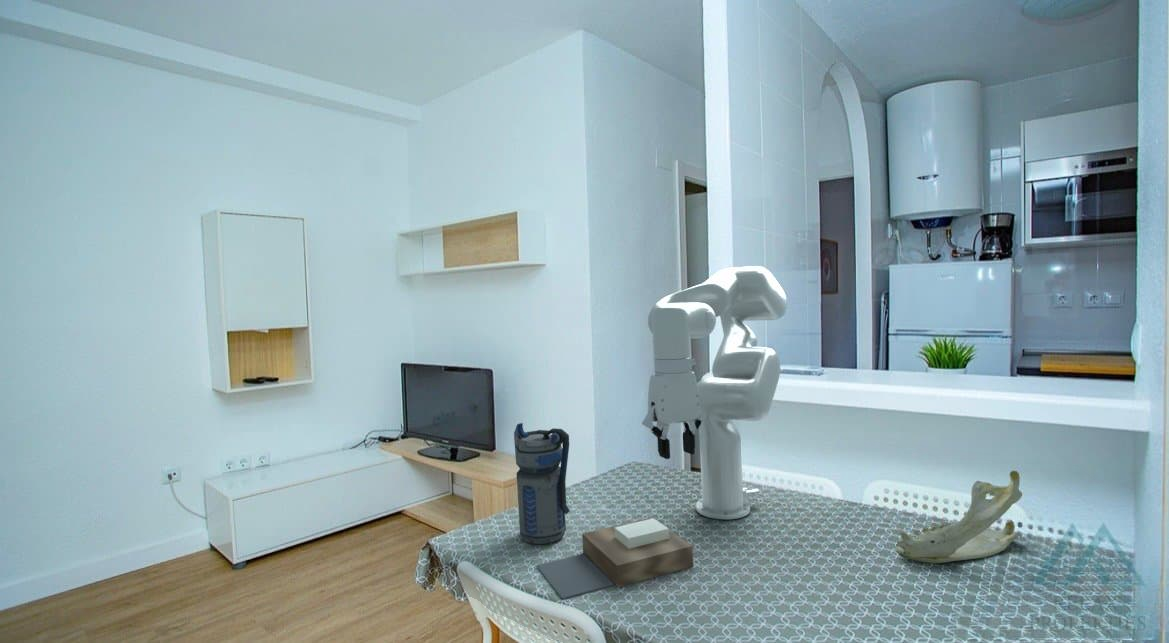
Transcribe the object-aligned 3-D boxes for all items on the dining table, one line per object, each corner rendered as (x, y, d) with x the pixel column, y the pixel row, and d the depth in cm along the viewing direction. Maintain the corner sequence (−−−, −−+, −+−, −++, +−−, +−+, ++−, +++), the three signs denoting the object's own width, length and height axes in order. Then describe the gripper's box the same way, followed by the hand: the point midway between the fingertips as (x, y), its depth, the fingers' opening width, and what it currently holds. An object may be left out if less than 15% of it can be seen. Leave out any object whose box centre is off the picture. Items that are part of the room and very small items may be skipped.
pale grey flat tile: (653, 527, 119) (653, 518, 119) (669, 538, 114) (668, 528, 114) (614, 537, 116) (614, 527, 115) (628, 548, 110) (628, 538, 110)
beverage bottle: (562, 551, 119) (555, 432, 118) (508, 542, 125) (501, 428, 124) (583, 532, 128) (577, 421, 127) (533, 524, 134) (526, 418, 133)
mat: (583, 555, 117) (583, 553, 117) (613, 585, 104) (613, 583, 104) (536, 566, 113) (536, 565, 113) (562, 599, 100) (562, 597, 100)
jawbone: (910, 532, 101) (880, 491, 110) (908, 598, 109) (880, 555, 118) (1053, 500, 100) (1011, 461, 109) (1040, 569, 108) (1002, 528, 117)
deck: (650, 535, 125) (650, 517, 124) (693, 566, 110) (692, 545, 110) (583, 552, 118) (582, 533, 118) (618, 587, 104) (617, 565, 103)
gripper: (697, 361, 123) (701, 444, 124) (626, 368, 117) (631, 457, 118) (718, 364, 117) (722, 452, 117) (645, 372, 110) (649, 466, 111)
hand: (676, 454), depth 117 cm, fingers open, 5 cm apart
